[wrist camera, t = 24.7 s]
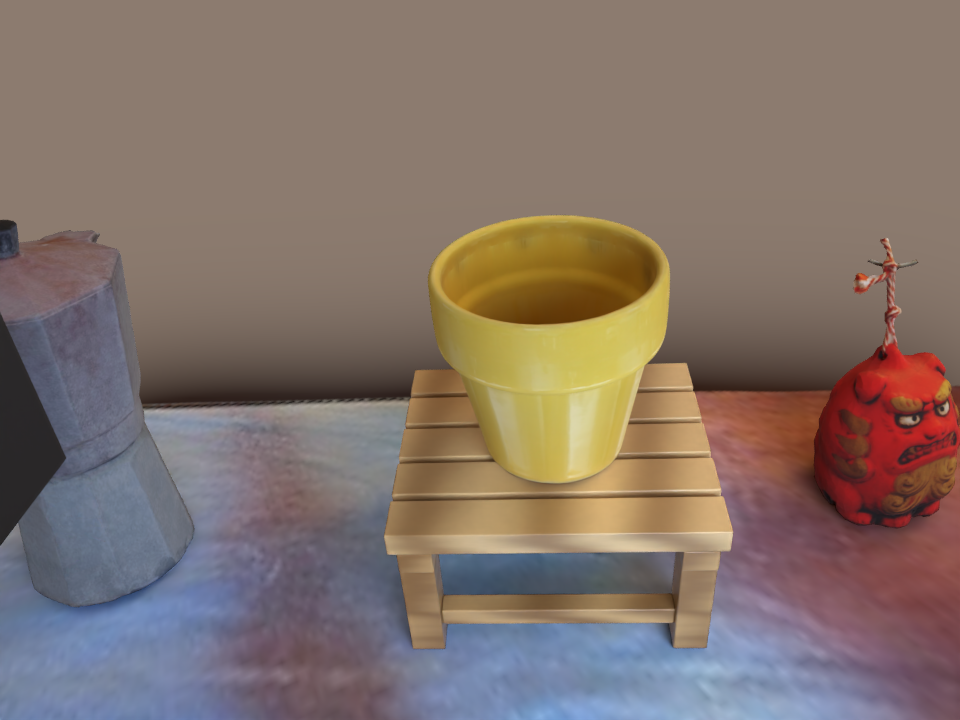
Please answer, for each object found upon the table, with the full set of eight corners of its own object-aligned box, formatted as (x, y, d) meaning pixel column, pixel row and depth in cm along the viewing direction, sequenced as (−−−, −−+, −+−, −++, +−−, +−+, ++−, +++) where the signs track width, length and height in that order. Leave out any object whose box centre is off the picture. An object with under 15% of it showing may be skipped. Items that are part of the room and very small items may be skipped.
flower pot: (423, 404, 44) (401, 236, 38) (602, 360, 46) (606, 195, 41) (485, 541, 36) (468, 352, 30) (699, 478, 38) (720, 292, 33)
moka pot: (239, 463, 53) (150, 165, 42) (143, 674, 41) (-22, 329, 29) (97, 463, 54) (-28, 171, 43) (-40, 670, 42) (-269, 334, 30)
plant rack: (676, 471, 50) (686, 362, 46) (715, 650, 40) (733, 532, 35) (429, 476, 51) (415, 369, 47) (404, 651, 41) (383, 536, 36)
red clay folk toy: (869, 555, 44) (940, 312, 35) (775, 476, 49) (817, 248, 41) (971, 504, 46) (1060, 265, 38) (871, 434, 52) (930, 211, 43)
